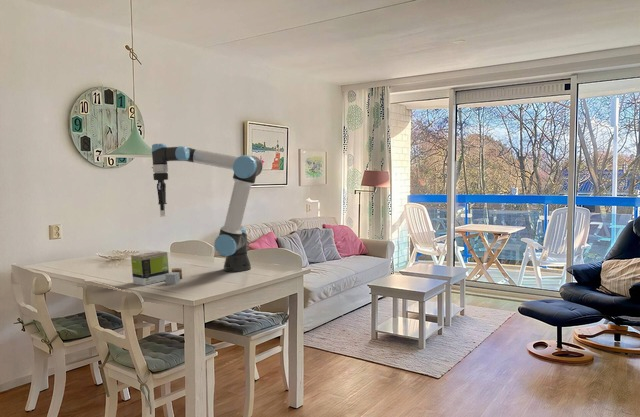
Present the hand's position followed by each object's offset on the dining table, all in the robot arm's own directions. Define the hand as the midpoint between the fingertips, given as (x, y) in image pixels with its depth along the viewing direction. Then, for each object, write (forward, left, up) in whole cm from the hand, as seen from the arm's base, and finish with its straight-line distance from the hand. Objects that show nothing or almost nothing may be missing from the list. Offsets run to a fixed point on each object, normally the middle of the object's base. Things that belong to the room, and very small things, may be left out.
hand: (163, 216), depth 264 cm
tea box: (+4, +18, -32) cm, 37 cm away
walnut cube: (-8, +13, -32) cm, 35 cm away
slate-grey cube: (-8, +24, -32) cm, 41 cm away
